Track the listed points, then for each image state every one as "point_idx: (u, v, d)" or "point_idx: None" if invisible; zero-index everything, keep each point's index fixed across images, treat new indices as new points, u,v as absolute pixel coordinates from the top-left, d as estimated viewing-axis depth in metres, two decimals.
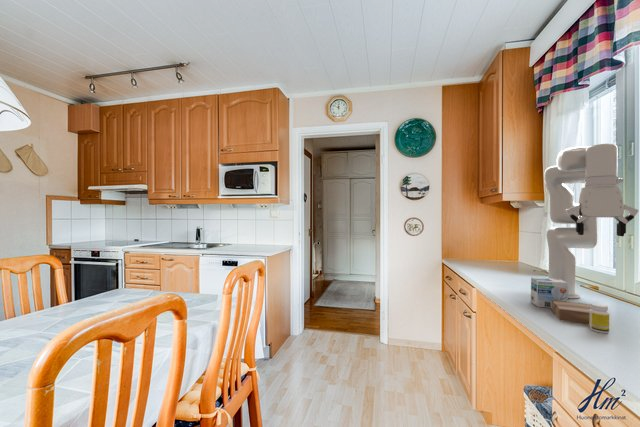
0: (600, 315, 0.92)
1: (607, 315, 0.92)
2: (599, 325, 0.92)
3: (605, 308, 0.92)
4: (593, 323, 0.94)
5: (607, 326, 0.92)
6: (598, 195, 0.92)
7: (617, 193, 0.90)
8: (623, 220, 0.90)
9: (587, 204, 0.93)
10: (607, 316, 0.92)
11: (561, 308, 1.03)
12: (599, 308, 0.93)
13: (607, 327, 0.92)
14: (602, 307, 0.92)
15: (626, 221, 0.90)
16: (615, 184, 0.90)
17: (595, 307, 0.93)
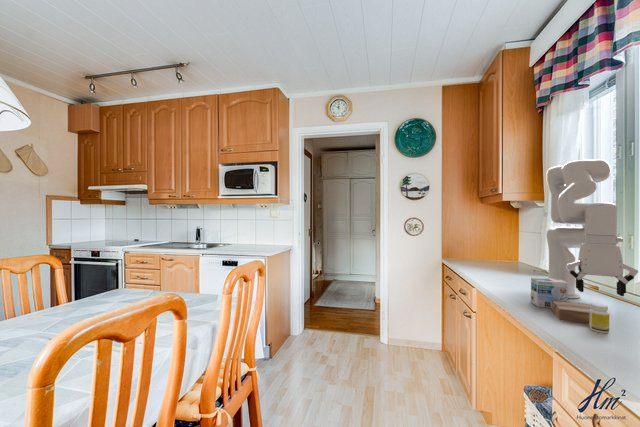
0: (600, 315, 0.92)
1: (607, 315, 0.92)
2: (599, 325, 0.92)
3: (605, 308, 0.92)
4: (593, 323, 0.94)
5: (607, 326, 0.92)
6: (597, 254, 0.92)
7: (617, 253, 0.90)
8: (623, 280, 0.90)
9: (587, 262, 0.93)
10: (607, 316, 0.92)
11: (561, 308, 1.03)
12: (599, 308, 0.93)
13: (607, 327, 0.92)
14: (602, 307, 0.92)
15: (626, 281, 0.90)
16: (614, 244, 0.90)
17: (595, 307, 0.93)
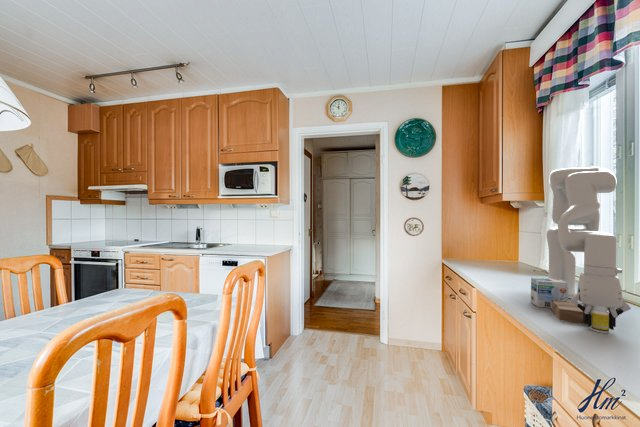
0: (600, 315, 0.92)
1: (607, 315, 0.92)
2: (599, 325, 0.92)
3: (605, 308, 0.92)
4: (593, 323, 0.94)
5: (607, 326, 0.92)
6: (596, 285, 0.92)
7: (616, 285, 0.90)
8: (614, 313, 0.91)
9: (586, 292, 0.94)
10: (607, 316, 0.92)
11: (561, 308, 1.03)
12: (599, 308, 0.93)
13: (607, 327, 0.92)
14: (602, 307, 0.92)
15: (616, 315, 0.91)
16: (614, 276, 0.90)
17: (595, 307, 0.93)
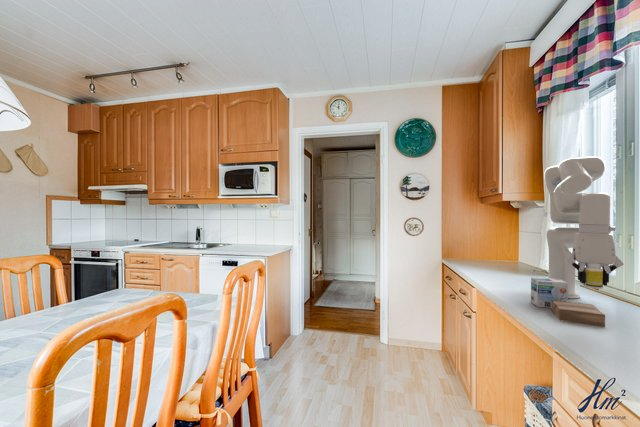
0: (594, 272, 0.95)
1: (601, 271, 0.95)
2: (593, 282, 0.95)
3: (599, 265, 0.95)
4: (587, 280, 0.96)
5: (601, 282, 0.95)
6: (591, 243, 0.95)
7: (609, 241, 0.93)
8: (607, 270, 0.94)
9: (581, 250, 0.97)
10: (601, 272, 0.95)
11: (561, 308, 1.03)
12: (593, 265, 0.95)
13: (601, 283, 0.95)
14: (596, 264, 0.95)
15: (609, 271, 0.94)
16: (607, 233, 0.93)
17: (590, 264, 0.96)
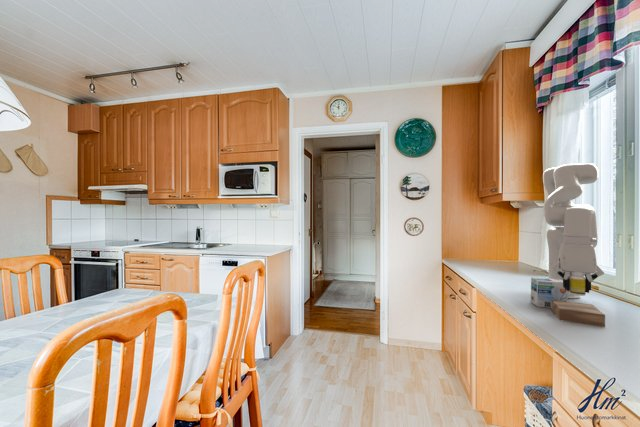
0: (577, 280, 1.03)
1: (583, 279, 1.03)
2: (576, 289, 1.03)
3: (582, 273, 1.03)
4: (571, 287, 1.04)
5: (583, 289, 1.03)
6: (574, 253, 1.03)
7: (591, 252, 1.01)
8: (589, 278, 1.02)
9: (565, 260, 1.05)
10: (583, 280, 1.03)
11: (561, 308, 1.03)
12: (576, 273, 1.03)
13: (583, 290, 1.03)
14: (579, 272, 1.03)
15: (591, 280, 1.02)
16: (589, 244, 1.01)
17: (573, 273, 1.04)
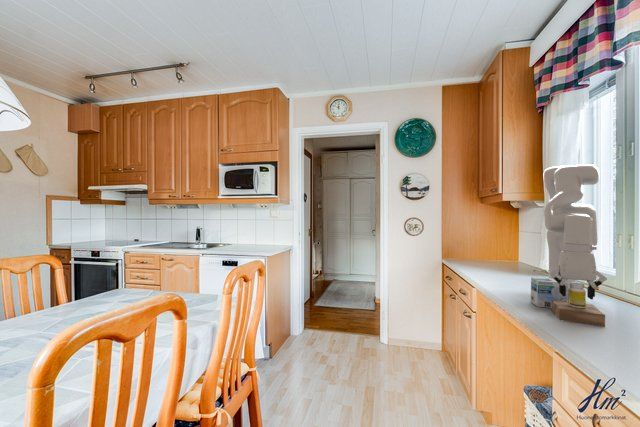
0: (577, 292, 1.04)
1: (583, 292, 1.03)
2: (576, 301, 1.04)
3: (581, 286, 1.03)
4: (571, 299, 1.05)
5: (583, 302, 1.03)
6: (574, 261, 1.03)
7: (591, 260, 1.01)
8: (593, 285, 1.02)
9: (565, 267, 1.05)
10: (583, 293, 1.03)
11: (561, 308, 1.03)
12: (576, 286, 1.04)
13: (583, 303, 1.03)
14: (579, 285, 1.04)
15: (595, 286, 1.02)
16: (589, 252, 1.01)
17: (573, 285, 1.05)
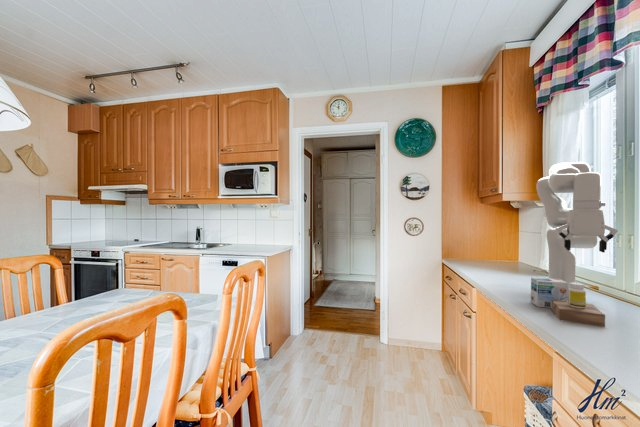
0: (577, 292, 1.03)
1: (583, 292, 1.03)
2: (576, 302, 1.04)
3: (581, 286, 1.03)
4: (571, 299, 1.05)
5: (583, 302, 1.03)
6: (583, 217, 1.07)
7: (599, 215, 1.04)
8: (604, 239, 1.05)
9: (574, 224, 1.08)
10: (583, 293, 1.03)
11: (561, 308, 1.03)
12: (576, 286, 1.04)
13: (583, 303, 1.03)
14: (579, 285, 1.04)
15: (607, 239, 1.05)
16: (598, 208, 1.04)
17: (573, 285, 1.05)
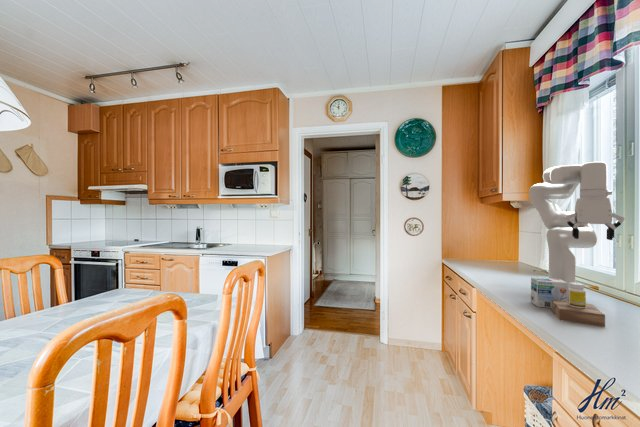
0: (577, 292, 1.03)
1: (583, 292, 1.03)
2: (576, 302, 1.04)
3: (581, 286, 1.03)
4: (571, 300, 1.05)
5: (583, 302, 1.03)
6: (590, 205, 1.09)
7: (607, 203, 1.07)
8: (612, 226, 1.07)
9: (582, 213, 1.10)
10: (583, 293, 1.03)
11: (561, 308, 1.03)
12: (576, 286, 1.04)
13: (583, 303, 1.03)
14: (579, 285, 1.04)
15: (614, 227, 1.07)
16: (605, 196, 1.07)
17: (573, 285, 1.05)
